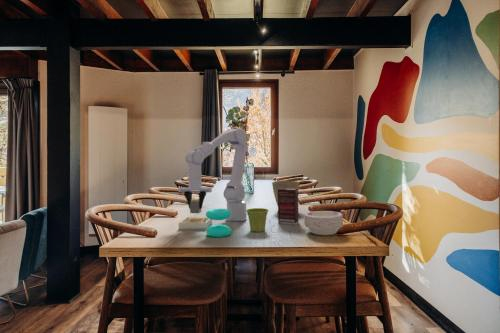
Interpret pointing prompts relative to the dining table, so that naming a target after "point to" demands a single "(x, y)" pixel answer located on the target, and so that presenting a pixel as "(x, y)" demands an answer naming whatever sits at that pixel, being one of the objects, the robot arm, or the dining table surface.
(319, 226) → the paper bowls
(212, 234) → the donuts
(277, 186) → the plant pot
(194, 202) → the connector
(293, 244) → the dining table surface
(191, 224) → the walled box
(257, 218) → the plant pot
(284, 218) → the supplement box
